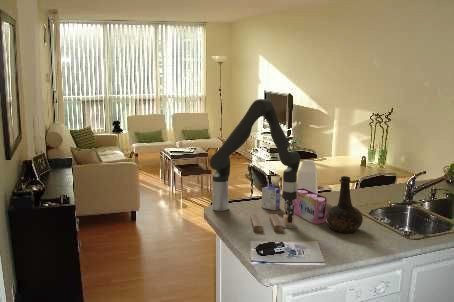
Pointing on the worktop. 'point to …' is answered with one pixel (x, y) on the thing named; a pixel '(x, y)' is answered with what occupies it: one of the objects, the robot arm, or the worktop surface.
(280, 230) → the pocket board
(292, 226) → the slate mat
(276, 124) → the robot arm
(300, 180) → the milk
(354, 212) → the glass bottle
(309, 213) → the gum box
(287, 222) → the block
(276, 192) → the ink cartridge box
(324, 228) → the worktop surface
